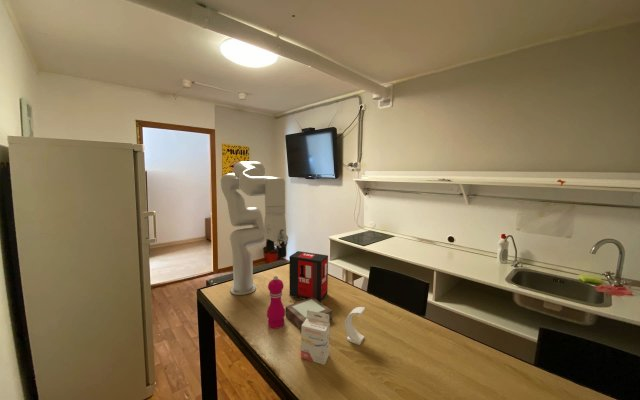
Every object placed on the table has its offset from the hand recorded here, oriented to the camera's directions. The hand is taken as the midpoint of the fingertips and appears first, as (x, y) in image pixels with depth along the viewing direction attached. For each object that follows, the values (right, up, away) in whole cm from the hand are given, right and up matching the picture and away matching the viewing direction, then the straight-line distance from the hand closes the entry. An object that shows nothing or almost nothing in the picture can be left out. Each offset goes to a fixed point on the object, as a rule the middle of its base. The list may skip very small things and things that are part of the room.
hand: (275, 253), depth 99 cm
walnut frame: (+12, -28, +8) cm, 32 cm away
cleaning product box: (+11, -26, +28) cm, 40 cm away
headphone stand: (+30, -30, -5) cm, 43 cm away
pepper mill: (-1, -29, +4) cm, 29 cm away
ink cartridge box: (+15, -31, -14) cm, 38 cm away
